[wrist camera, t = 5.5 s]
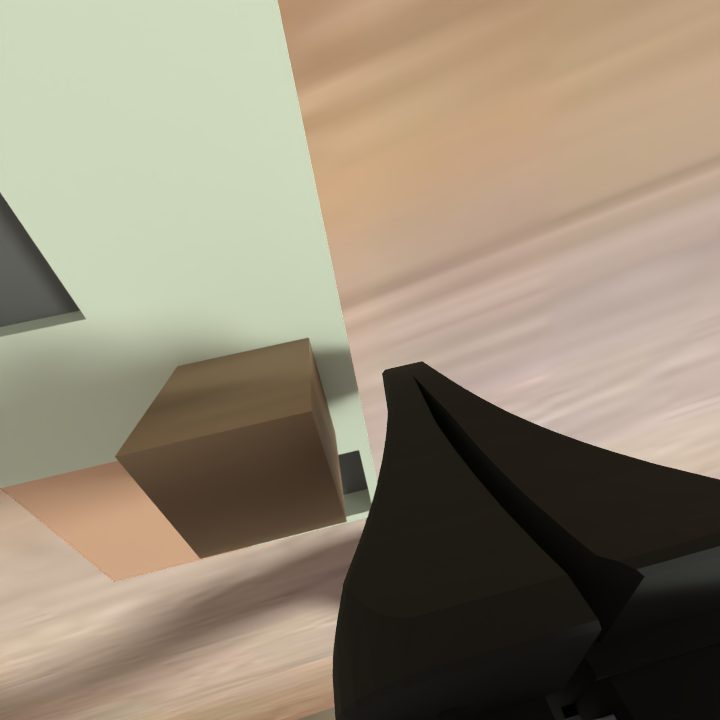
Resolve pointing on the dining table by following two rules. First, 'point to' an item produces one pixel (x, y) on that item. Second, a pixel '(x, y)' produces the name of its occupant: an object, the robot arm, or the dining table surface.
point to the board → (149, 248)
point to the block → (240, 450)
